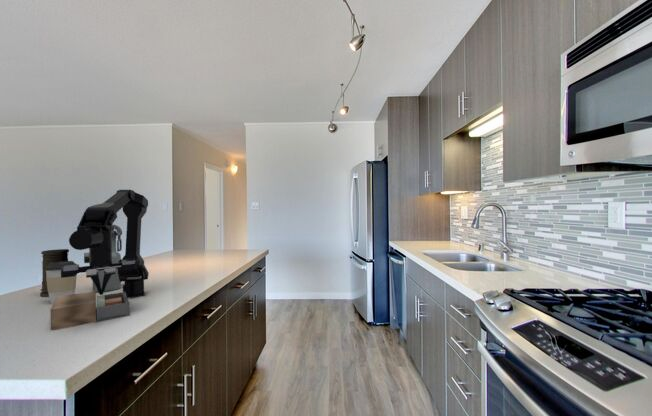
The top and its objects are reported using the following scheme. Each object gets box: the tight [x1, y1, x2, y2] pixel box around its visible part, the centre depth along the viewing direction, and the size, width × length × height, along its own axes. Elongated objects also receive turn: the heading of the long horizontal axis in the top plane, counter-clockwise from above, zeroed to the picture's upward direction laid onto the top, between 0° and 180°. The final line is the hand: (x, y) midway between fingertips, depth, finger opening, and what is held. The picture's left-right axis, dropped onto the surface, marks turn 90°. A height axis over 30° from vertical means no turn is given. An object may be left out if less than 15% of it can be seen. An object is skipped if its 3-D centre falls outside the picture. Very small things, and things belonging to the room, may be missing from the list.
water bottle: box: [92, 223, 123, 293], centre depth 125 cm, size 10×10×28 cm
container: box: [39, 248, 70, 298], centre depth 119 cm, size 9×9×18 cm
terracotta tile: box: [105, 297, 122, 306], centre depth 100 cm, size 5×5×2 cm
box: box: [96, 291, 131, 323], centre depth 97 cm, size 8×17×4 cm, turn 38°
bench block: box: [49, 290, 97, 331], centre depth 91 cm, size 10×16×6 cm, turn 38°
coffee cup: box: [45, 260, 78, 305], centre depth 109 cm, size 9×9×15 cm
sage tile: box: [96, 295, 105, 309], centre depth 93 cm, size 5×5×2 cm
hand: (101, 294), depth 93 cm, fingers closed
